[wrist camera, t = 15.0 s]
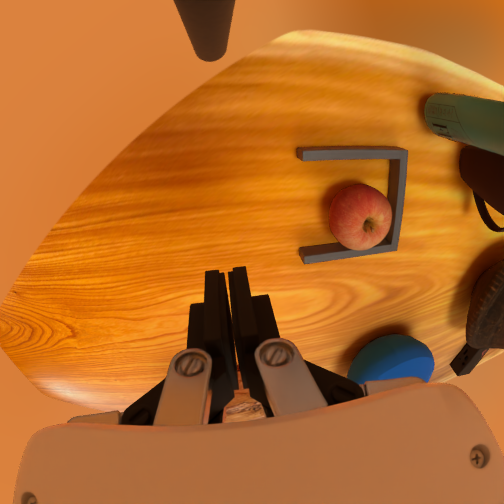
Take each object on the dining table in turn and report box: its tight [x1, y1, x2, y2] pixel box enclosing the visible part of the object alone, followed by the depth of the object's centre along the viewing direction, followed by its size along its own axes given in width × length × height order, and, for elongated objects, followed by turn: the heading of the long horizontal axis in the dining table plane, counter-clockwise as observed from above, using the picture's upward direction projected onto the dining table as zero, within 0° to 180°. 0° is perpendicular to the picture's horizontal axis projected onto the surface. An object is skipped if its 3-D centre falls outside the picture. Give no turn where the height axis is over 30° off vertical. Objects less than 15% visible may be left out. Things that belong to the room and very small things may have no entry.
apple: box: [329, 184, 392, 250], centre depth 33 cm, size 8×8×8 cm
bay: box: [297, 146, 408, 264], centre depth 35 cm, size 14×14×2 cm
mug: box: [459, 145, 504, 232], centre depth 30 cm, size 10×14×12 cm
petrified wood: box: [225, 371, 265, 423], centre depth 47 cm, size 19×13×10 cm
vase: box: [347, 334, 435, 384], centre depth 44 cm, size 18×18×19 cm
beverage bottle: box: [424, 92, 504, 156], centre depth 22 cm, size 6×7×20 cm
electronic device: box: [450, 343, 489, 376], centre depth 59 cm, size 7×11×5 cm
